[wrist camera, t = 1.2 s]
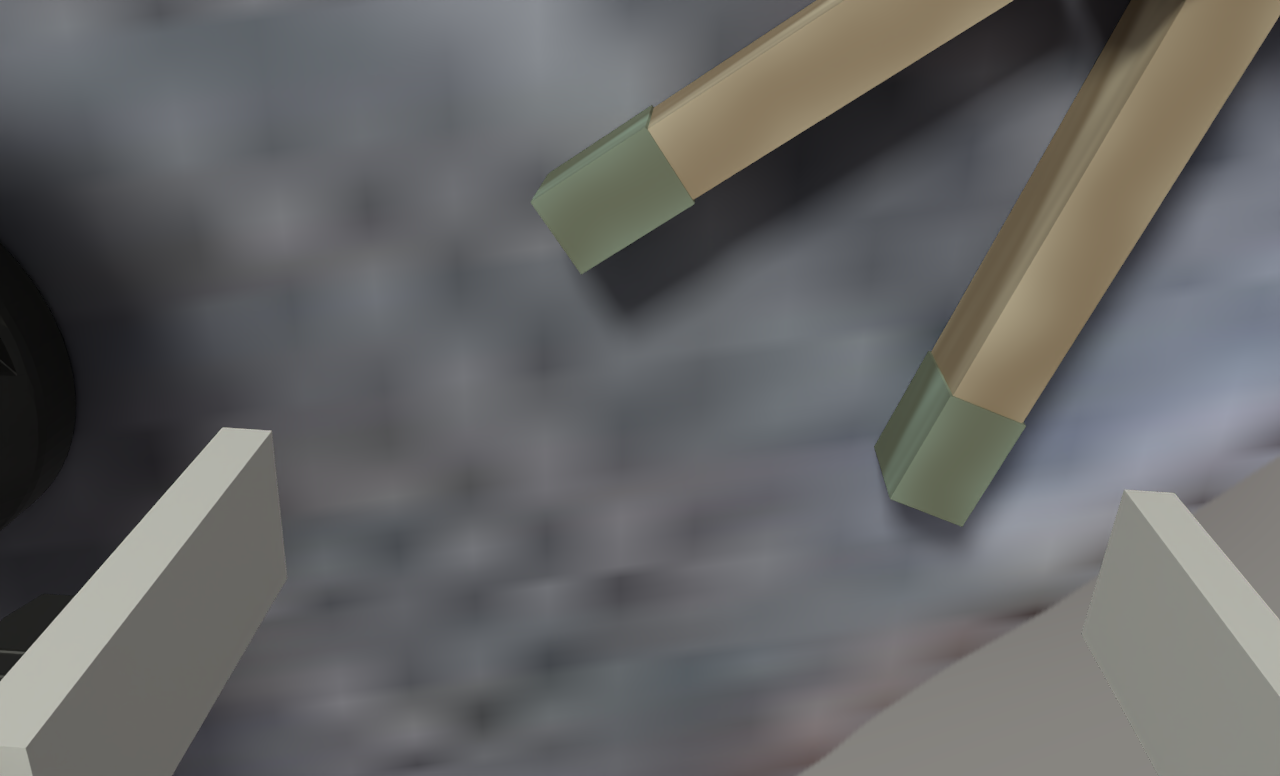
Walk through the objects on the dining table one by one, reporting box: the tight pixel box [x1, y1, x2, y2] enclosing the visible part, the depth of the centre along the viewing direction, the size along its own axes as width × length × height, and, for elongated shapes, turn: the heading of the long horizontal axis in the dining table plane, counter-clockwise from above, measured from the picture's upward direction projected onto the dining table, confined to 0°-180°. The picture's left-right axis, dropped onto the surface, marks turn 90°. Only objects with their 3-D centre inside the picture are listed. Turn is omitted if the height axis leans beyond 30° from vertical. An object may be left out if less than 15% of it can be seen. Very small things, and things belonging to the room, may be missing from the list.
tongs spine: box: [874, 0, 1280, 527], centre depth 30 cm, size 5×24×4 cm, turn 158°
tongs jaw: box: [531, 0, 1013, 274], centre depth 29 cm, size 4×20×4 cm, turn 123°
